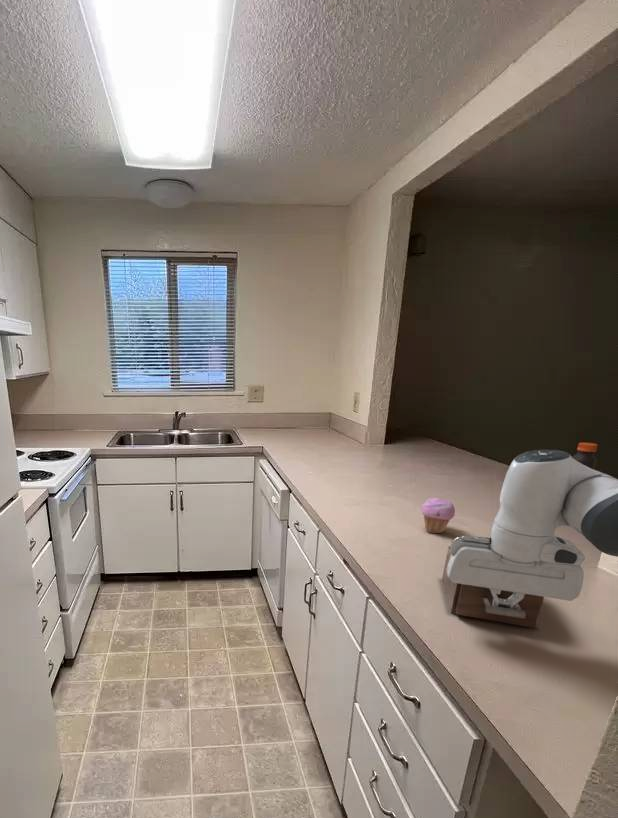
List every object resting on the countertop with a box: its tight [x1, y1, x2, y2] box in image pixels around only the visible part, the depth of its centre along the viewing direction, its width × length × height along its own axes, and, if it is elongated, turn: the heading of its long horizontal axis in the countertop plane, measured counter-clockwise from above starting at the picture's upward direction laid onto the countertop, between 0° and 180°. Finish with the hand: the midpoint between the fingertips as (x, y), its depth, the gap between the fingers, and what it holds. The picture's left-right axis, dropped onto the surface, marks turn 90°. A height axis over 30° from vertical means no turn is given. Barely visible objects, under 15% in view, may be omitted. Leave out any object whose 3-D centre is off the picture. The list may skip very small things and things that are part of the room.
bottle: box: [571, 442, 599, 470], centre depth 148 cm, size 7×7×20 cm
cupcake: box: [421, 497, 456, 534], centre depth 126 cm, size 9×9×10 cm
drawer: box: [455, 584, 545, 629], centre depth 87 cm, size 18×13×7 cm
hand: (501, 609), depth 81 cm, fingers closed
